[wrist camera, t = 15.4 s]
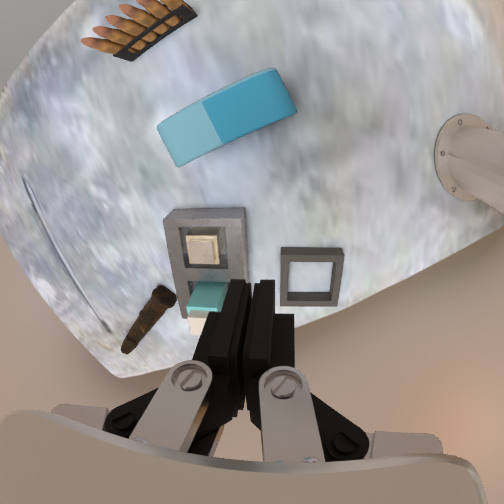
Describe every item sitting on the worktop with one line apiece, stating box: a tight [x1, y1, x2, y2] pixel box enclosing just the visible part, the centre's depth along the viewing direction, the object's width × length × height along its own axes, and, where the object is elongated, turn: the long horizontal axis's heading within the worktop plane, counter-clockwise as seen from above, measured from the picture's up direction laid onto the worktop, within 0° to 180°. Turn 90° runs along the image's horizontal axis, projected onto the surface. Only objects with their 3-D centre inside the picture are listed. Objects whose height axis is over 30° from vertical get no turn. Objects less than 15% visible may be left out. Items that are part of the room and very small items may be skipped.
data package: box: [157, 68, 297, 167], centre depth 27 cm, size 12×4×12 cm, turn 115°
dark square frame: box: [280, 247, 344, 306], centre depth 40 cm, size 8×8×2 cm
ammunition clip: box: [81, 0, 197, 62], centre depth 22 cm, size 11×2×12 cm, turn 120°
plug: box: [186, 281, 229, 335], centre depth 39 cm, size 4×4×10 cm
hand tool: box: [121, 286, 177, 354], centre depth 47 cm, size 19×4×5 cm, turn 139°
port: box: [163, 208, 249, 319], centre depth 40 cm, size 10×16×5 cm, turn 2°
